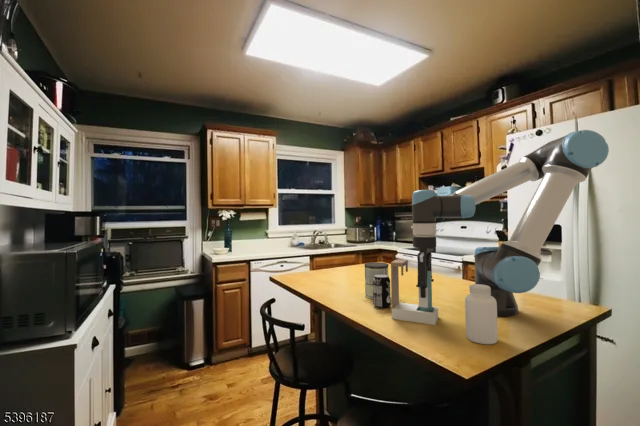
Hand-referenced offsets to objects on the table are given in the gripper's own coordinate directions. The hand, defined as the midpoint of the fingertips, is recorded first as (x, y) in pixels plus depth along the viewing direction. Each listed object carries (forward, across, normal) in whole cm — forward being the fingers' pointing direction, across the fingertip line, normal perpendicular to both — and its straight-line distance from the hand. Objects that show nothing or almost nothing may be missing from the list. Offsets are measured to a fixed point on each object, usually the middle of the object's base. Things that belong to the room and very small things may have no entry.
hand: (425, 303), depth 102 cm
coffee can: (+6, -21, -24) cm, 32 cm away
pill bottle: (+6, +10, +16) cm, 20 cm away
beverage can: (+6, -8, -18) cm, 20 cm away
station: (+5, 0, -4) cm, 6 cm away
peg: (+5, 0, 0) cm, 5 cm away
